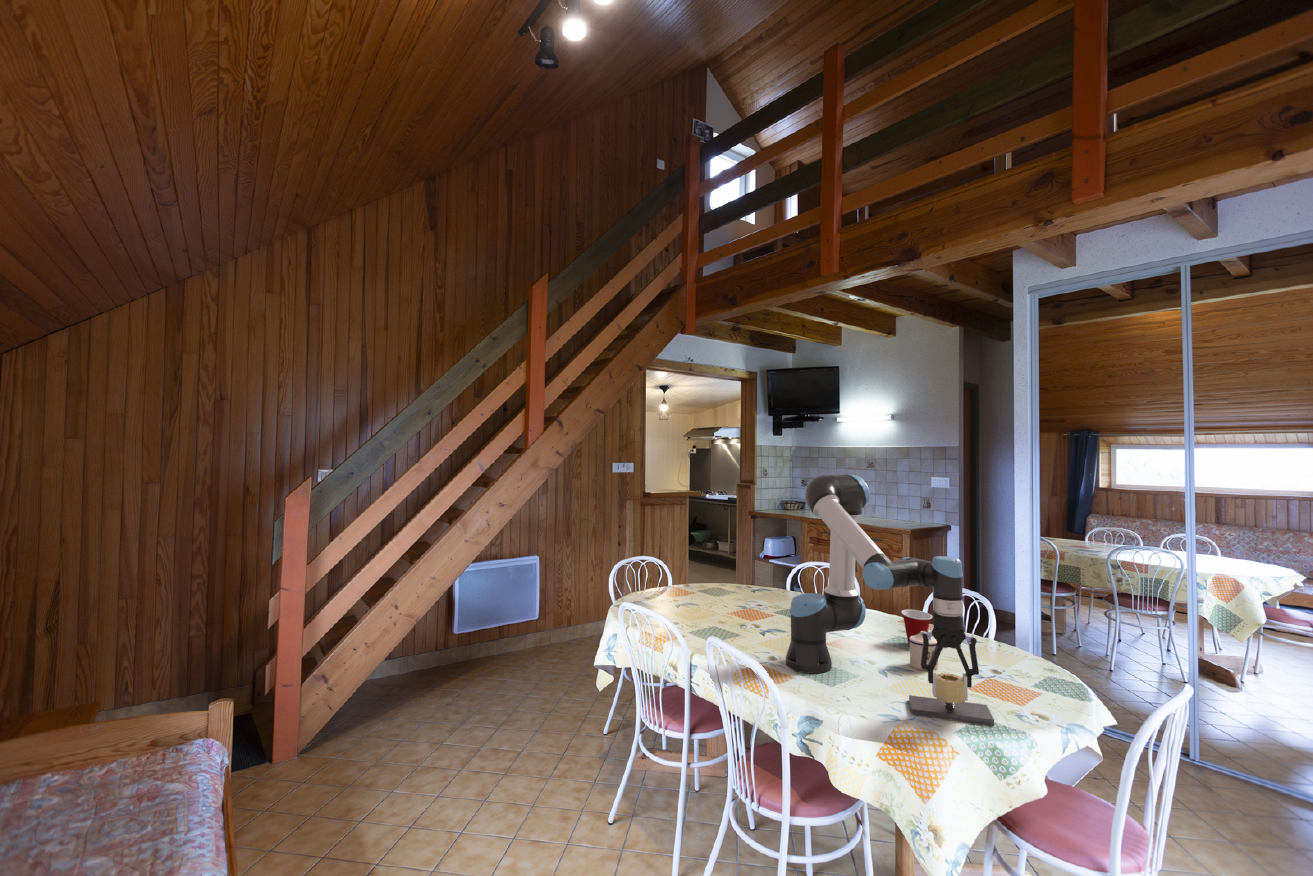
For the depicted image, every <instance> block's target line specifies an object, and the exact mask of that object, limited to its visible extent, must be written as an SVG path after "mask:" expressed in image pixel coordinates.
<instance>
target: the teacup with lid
mask: <svg viewBox="0 0 1313 876" xmlns="http://www.w3.org/2000/svg"><path fill="white" fill-rule="evenodd" d="M922 632H925V631H921V632H920V634H917V635H914V636H911V637H910V638H909V641H910V645H909V665H910V666H911V667H913V669H917V670H921V671H927V670H925V669H922V667H921V656H922V647H923V637H922ZM936 644H937V641H936V639H935V638H934V637H933V636H932V637H931V640H930V641H929V647H928V656H927V665H928V664H929V662H930V660H931V657H932V655H933V652H934V650H935V647H936ZM938 668H939V659H938V660H937V663H936V665H935V668H934V670H935V671H936V670H937V669H938ZM927 672H928V671H927Z"/></svg>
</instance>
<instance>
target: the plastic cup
mask: <svg viewBox="0 0 1313 876" xmlns="http://www.w3.org/2000/svg"><path fill="white" fill-rule="evenodd" d="M901 614H902V617H903V618H902V619H903V622H904V628H905V634H906V639H907V644H908V645H909V646H910V641H909V638H910V637H911V636H914V635H917V634H920V632H921V631H925V632H929V628H930V622H931V620H932V619H933V615H932V614H930V613H928V612H925V611H921V610H918V609H917V610H916V609H903V610H901Z"/></svg>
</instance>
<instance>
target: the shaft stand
mask: <svg viewBox="0 0 1313 876" xmlns="http://www.w3.org/2000/svg"><path fill="white" fill-rule="evenodd" d="M908 702H909V706H910V712H911V715H912V716H913V715H914V716H919V715H920V717H928V718H935V719H943V720H950V721H957V722H958V721H959V722H964V723H965V722H966V723H973V724H978V725H979V724H980V725H987V726H988V725H989V726H995V719H994V717H993V715H992V712H991V711H990V709H989V707H988V705H987V704H984V703H975V702H968V701H965V702H962V703H959V704H956V703H948V702H944V701H942V700H939V699H937V698H936V697H926V696H919V695H911V694H909V695H908Z"/></svg>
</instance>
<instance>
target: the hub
mask: <svg viewBox="0 0 1313 876" xmlns="http://www.w3.org/2000/svg"><path fill="white" fill-rule="evenodd" d="M936 693H937V697H935V698H936V699H939V700H942V701H944V702H948V703H956V704H959V703H962V702H966V701H965V681H964V679H963V676H962V677H961V676H960V675H956V674H953V673H945V672H944V673H943V672H942V673H936Z"/></svg>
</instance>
